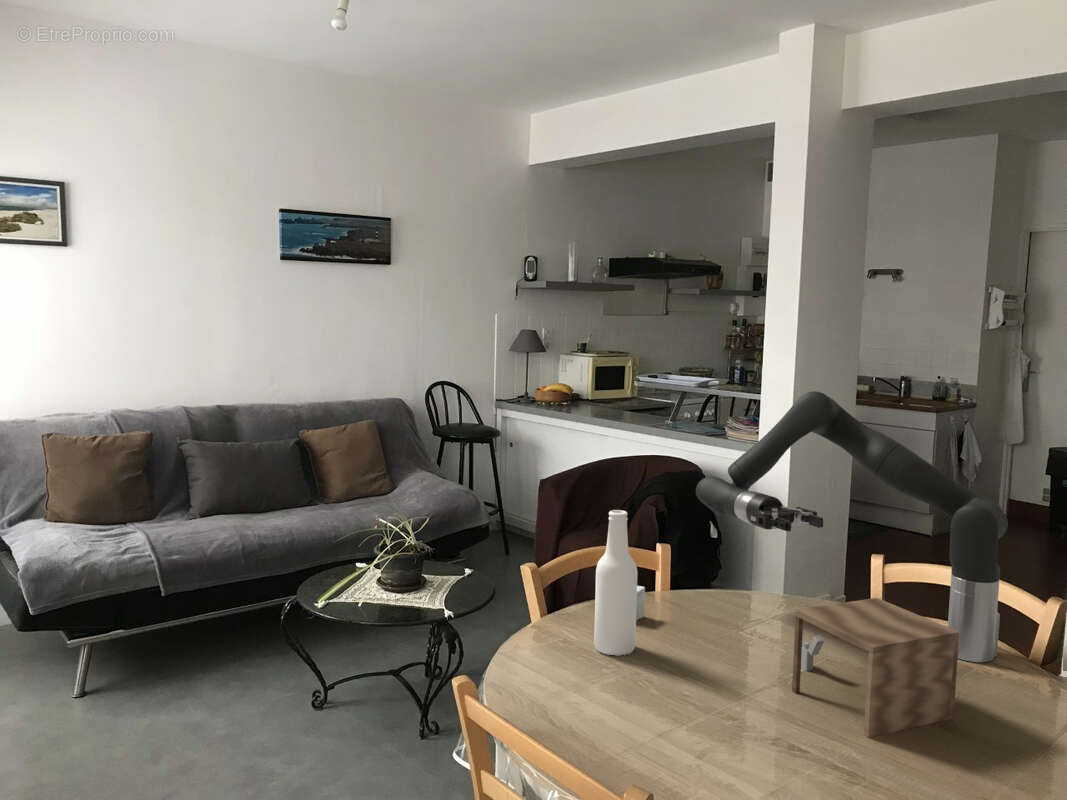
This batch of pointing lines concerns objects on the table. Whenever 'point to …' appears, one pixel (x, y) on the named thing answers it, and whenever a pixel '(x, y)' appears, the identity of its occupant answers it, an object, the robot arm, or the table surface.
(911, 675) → the open side box
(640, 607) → the product box
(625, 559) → the alcohol
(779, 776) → the table surface
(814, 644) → the lighter
